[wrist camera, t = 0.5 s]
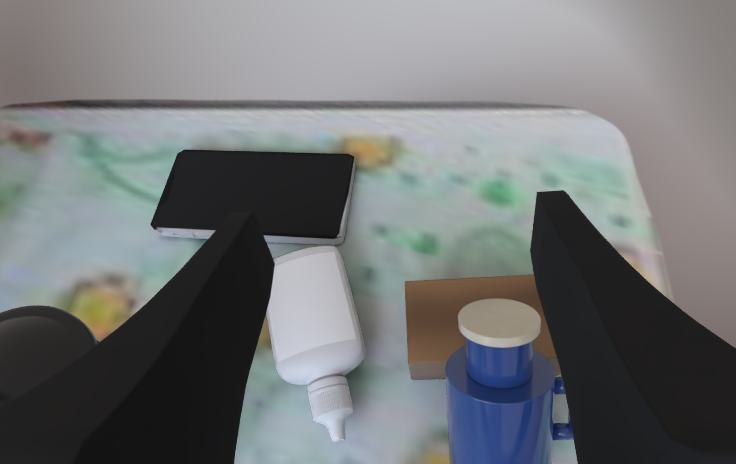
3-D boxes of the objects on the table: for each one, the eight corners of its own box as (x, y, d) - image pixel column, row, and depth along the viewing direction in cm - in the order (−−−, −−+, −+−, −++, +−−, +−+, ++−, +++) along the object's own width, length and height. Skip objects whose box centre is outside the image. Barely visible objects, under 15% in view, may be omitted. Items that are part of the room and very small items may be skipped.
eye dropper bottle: (266, 244, 31) (300, 440, 25) (348, 242, 34) (397, 421, 28) (254, 278, 35) (282, 459, 29) (330, 274, 37) (370, 441, 31)
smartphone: (340, 240, 35) (147, 230, 38) (343, 248, 37) (155, 238, 39) (355, 152, 39) (179, 147, 42) (356, 161, 40) (185, 156, 43)
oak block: (559, 375, 30) (575, 356, 27) (411, 380, 31) (408, 362, 28) (544, 298, 33) (557, 272, 29) (407, 305, 34) (404, 280, 30)
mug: (583, 514, 26) (655, 509, 18) (452, 515, 27) (460, 511, 19) (550, 342, 31) (593, 273, 23) (439, 346, 32) (441, 281, 23)
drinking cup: (249, 438, 30) (8, 334, 13) (148, 546, 28) (-301, 589, 11) (178, 357, 34) (-91, 188, 16) (82, 448, 31) (-346, 362, 14)
